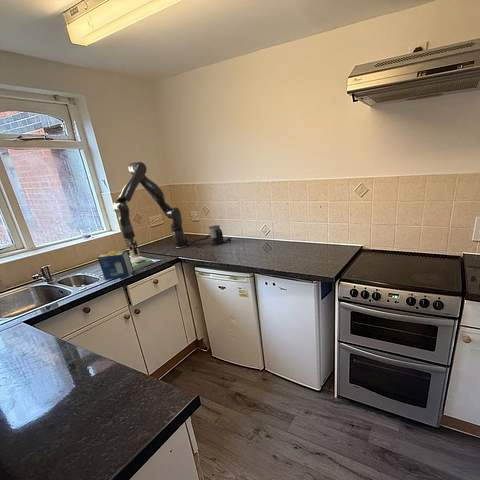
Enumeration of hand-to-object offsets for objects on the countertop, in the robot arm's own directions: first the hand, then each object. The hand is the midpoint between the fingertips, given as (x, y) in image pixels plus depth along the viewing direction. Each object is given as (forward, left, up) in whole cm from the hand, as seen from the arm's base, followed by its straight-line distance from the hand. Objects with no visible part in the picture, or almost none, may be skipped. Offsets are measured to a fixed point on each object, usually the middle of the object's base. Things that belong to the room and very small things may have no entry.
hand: (134, 253), depth 217 cm
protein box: (+18, +13, -8) cm, 24 cm away
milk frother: (-65, +18, -8) cm, 68 cm away
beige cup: (0, 0, -2) cm, 2 cm away
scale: (0, +1, -8) cm, 8 cm away
